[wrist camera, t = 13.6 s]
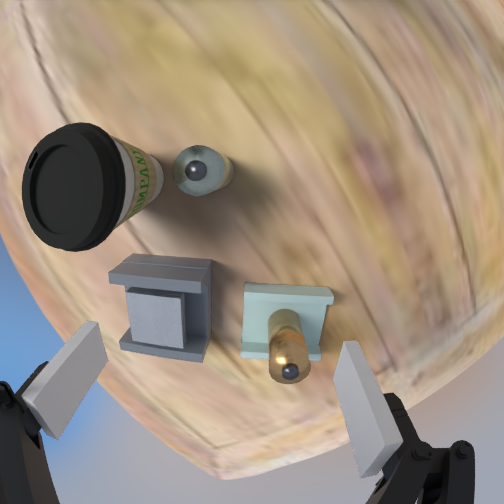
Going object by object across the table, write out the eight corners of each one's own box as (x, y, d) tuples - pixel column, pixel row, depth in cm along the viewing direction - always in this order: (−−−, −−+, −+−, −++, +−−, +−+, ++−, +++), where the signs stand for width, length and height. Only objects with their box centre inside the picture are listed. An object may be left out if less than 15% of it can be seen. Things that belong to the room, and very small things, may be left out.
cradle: (133, 253, 32) (108, 271, 26) (211, 259, 32) (200, 280, 26) (140, 323, 35) (121, 350, 28) (211, 333, 35) (202, 363, 28)
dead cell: (198, 153, 29) (171, 144, 19) (234, 154, 29) (223, 144, 19) (196, 188, 30) (169, 196, 20) (232, 190, 30) (220, 197, 20)
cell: (268, 308, 33) (271, 356, 23) (302, 309, 33) (315, 357, 23) (266, 335, 34) (267, 388, 25) (297, 336, 34) (308, 388, 24)
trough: (245, 282, 33) (244, 292, 30) (328, 287, 32) (334, 296, 30) (241, 345, 35) (240, 357, 32) (316, 348, 35) (320, 360, 32)
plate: (131, 286, 27) (125, 292, 26) (184, 292, 27) (180, 298, 26) (137, 333, 29) (132, 340, 28) (186, 341, 29) (183, 348, 28)
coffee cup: (144, 237, 31) (71, 285, 17) (92, 185, 30) (4, 201, 15) (196, 174, 29) (141, 176, 15) (138, 121, 28) (57, 95, 13)
